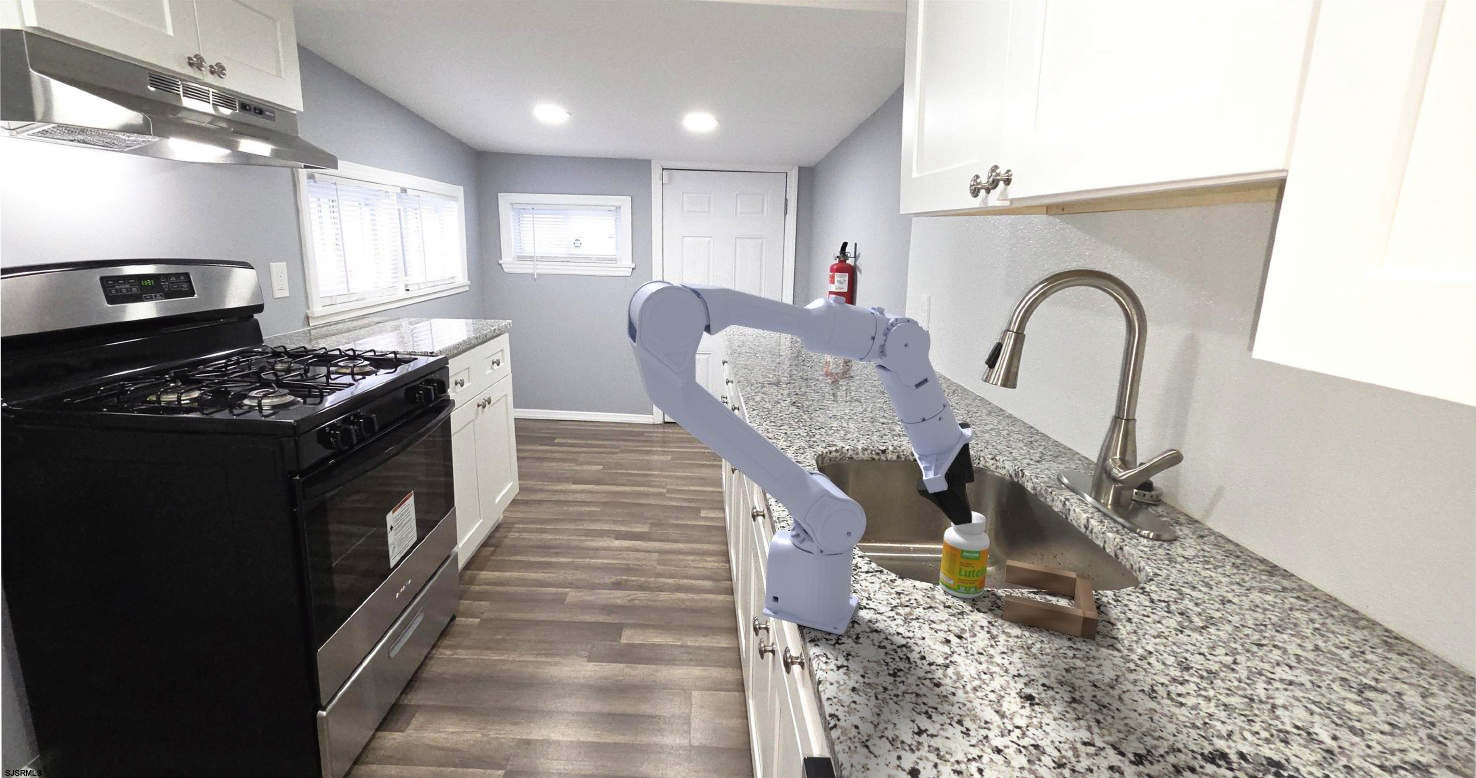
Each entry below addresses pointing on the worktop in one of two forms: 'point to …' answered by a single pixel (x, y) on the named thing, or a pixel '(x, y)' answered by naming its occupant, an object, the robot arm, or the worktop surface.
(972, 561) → the supplement bottle
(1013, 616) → the wooden u-shaped bracket
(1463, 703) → the worktop surface
